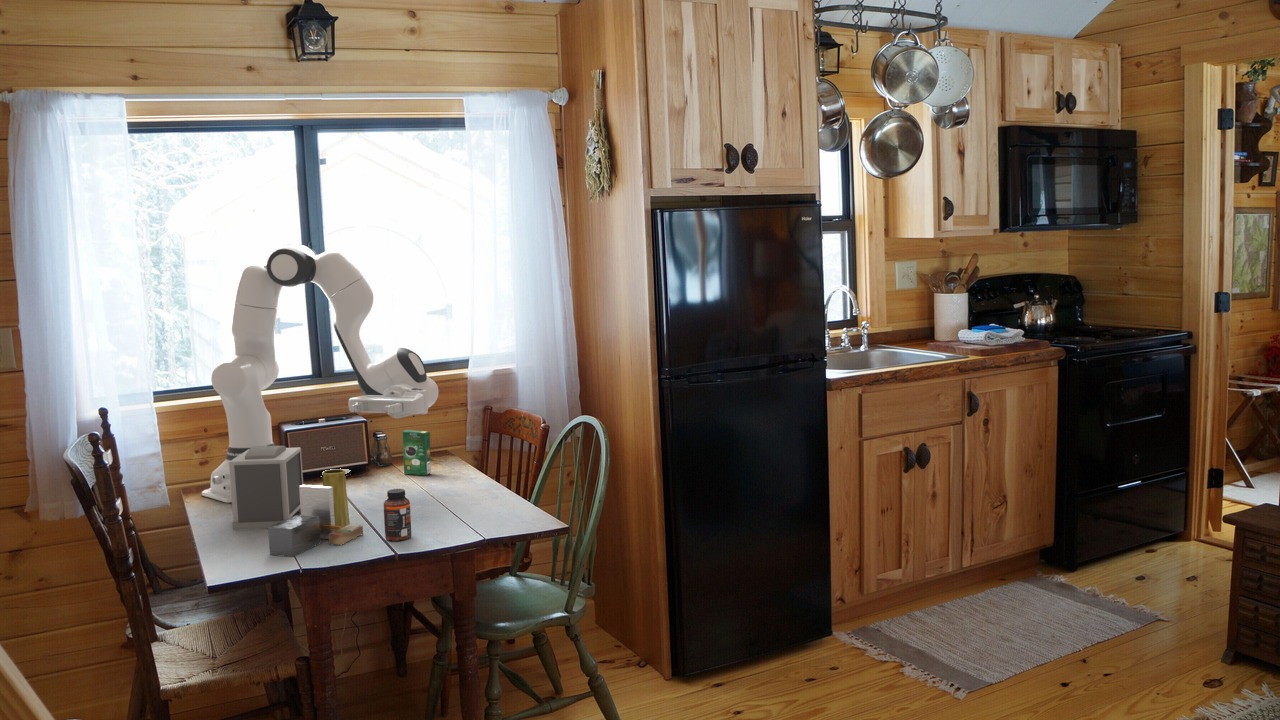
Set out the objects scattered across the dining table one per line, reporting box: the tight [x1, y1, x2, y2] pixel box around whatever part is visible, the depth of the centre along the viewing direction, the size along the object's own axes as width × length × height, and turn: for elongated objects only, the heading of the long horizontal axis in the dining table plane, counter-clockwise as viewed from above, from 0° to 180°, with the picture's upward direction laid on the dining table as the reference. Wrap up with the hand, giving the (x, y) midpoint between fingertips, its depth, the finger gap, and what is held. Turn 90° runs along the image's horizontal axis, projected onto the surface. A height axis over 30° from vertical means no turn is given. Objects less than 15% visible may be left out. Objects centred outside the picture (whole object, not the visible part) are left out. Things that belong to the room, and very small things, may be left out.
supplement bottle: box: [383, 488, 412, 542], centre depth 231 cm, size 6×6×11 cm
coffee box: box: [402, 429, 432, 476], centre depth 296 cm, size 8×3×13 cm, turn 71°
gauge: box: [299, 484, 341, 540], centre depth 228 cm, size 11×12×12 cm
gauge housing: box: [267, 514, 321, 557], centre depth 225 cm, size 6×10×6 cm, turn 162°
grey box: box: [229, 445, 304, 531], centre depth 251 cm, size 18×13×18 cm
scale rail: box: [328, 524, 364, 546], centre depth 232 cm, size 3×9×2 cm, turn 162°
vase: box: [322, 469, 351, 531], centre depth 240 cm, size 6×6×14 cm
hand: (370, 409), depth 256 cm, fingers open, 8 cm apart
